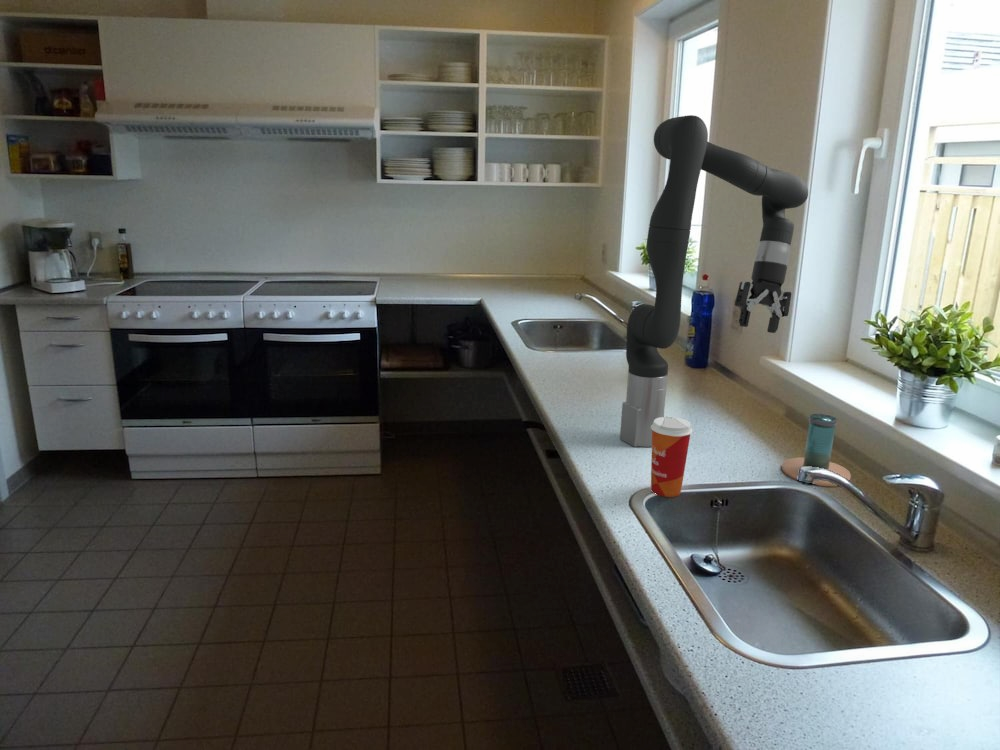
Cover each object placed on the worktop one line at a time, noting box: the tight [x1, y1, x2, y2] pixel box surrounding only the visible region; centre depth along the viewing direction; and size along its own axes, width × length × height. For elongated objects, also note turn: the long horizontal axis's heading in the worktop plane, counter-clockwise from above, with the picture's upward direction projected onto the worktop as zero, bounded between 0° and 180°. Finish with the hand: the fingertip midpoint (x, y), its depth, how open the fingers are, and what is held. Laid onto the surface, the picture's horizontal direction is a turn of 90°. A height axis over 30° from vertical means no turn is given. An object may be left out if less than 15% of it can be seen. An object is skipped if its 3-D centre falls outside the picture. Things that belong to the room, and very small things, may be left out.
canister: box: [803, 413, 838, 470], centre depth 161 cm, size 6×6×12 cm
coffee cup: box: [650, 416, 693, 498], centre depth 150 cm, size 8×8×15 cm
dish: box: [781, 456, 852, 488], centre depth 163 cm, size 14×14×1 cm
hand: (757, 329), depth 177 cm, fingers open, 8 cm apart
